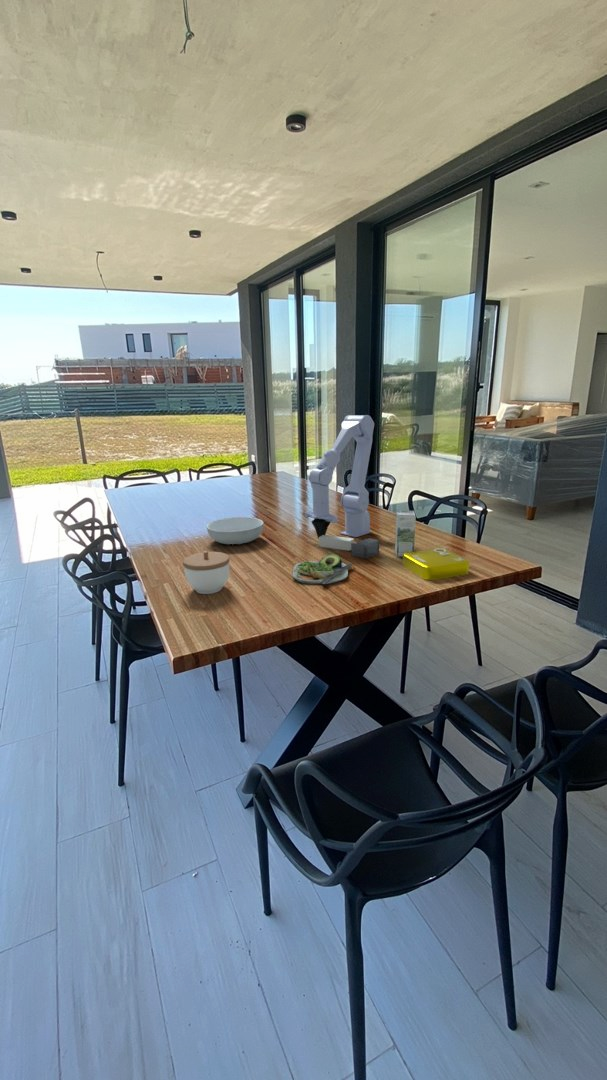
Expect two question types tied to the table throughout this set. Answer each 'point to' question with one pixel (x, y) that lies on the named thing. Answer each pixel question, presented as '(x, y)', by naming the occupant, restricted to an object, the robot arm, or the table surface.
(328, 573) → the salad plate
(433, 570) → the element tile
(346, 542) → the gray rectangular block
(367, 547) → the dark gray block
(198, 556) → the lidded sugar bowl
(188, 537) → the table surface
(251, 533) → the serving bowl
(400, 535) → the syrup box
